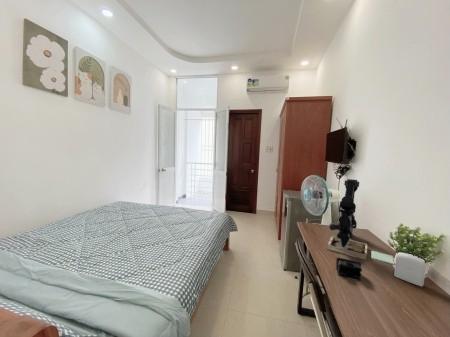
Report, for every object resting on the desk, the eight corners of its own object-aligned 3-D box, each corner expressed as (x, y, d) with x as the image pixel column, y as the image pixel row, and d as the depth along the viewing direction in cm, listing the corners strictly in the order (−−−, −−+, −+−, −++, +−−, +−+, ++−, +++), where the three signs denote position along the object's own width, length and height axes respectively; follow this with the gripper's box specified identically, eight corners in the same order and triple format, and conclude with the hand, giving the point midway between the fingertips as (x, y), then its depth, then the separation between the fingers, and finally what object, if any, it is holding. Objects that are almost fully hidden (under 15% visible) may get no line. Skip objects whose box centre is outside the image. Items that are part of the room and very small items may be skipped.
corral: (331, 239, 138) (332, 235, 137) (367, 248, 126) (367, 244, 126) (327, 249, 124) (327, 245, 123) (366, 260, 112) (366, 255, 112)
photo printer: (392, 276, 98) (395, 251, 97) (395, 273, 101) (397, 249, 99) (422, 288, 90) (426, 261, 89) (424, 284, 93) (427, 258, 92)
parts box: (339, 245, 129) (340, 235, 129) (348, 247, 127) (348, 237, 126) (338, 247, 126) (339, 238, 125) (347, 250, 123) (348, 240, 122)
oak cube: (352, 247, 126) (353, 241, 126) (360, 249, 125) (361, 243, 124) (353, 250, 123) (354, 244, 122) (361, 252, 121) (362, 245, 121)
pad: (371, 251, 122) (371, 250, 122) (393, 257, 116) (393, 256, 116) (371, 258, 114) (371, 257, 114) (394, 264, 108) (394, 263, 108)
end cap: (358, 272, 100) (359, 259, 100) (362, 281, 94) (363, 267, 93) (335, 267, 104) (336, 255, 103) (337, 275, 98) (338, 262, 97)
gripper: (333, 214, 137) (331, 236, 138) (328, 221, 122) (326, 247, 123) (353, 217, 130) (350, 241, 132) (350, 226, 115) (348, 253, 117)
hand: (343, 245), depth 126 cm, fingers closed on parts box, 4 cm apart
